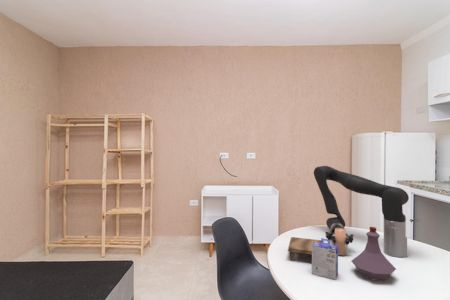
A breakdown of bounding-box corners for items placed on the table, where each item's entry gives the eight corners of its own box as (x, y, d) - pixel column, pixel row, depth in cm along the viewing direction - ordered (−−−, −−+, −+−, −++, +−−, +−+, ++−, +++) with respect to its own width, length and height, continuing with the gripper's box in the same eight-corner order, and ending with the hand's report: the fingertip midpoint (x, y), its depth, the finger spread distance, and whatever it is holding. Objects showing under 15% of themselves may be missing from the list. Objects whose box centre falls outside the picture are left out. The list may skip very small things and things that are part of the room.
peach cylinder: (345, 251, 128) (345, 228, 128) (346, 255, 123) (346, 231, 123) (334, 250, 129) (334, 227, 129) (335, 254, 125) (335, 230, 125)
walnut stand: (323, 252, 129) (323, 240, 129) (324, 265, 114) (324, 252, 114) (291, 248, 134) (291, 236, 134) (288, 260, 119) (288, 248, 119)
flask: (371, 263, 116) (371, 220, 116) (406, 281, 100) (406, 231, 100) (342, 269, 111) (342, 223, 111) (375, 288, 95) (375, 236, 95)
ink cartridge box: (338, 274, 106) (338, 240, 106) (336, 280, 101) (336, 244, 101) (314, 268, 111) (314, 236, 111) (311, 273, 107) (311, 240, 107)
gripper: (324, 223, 142) (325, 233, 126) (352, 225, 137) (357, 236, 121) (324, 236, 142) (325, 247, 126) (352, 239, 137) (357, 251, 121)
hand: (340, 242), depth 124 cm, fingers closed on peach cylinder, 5 cm apart
